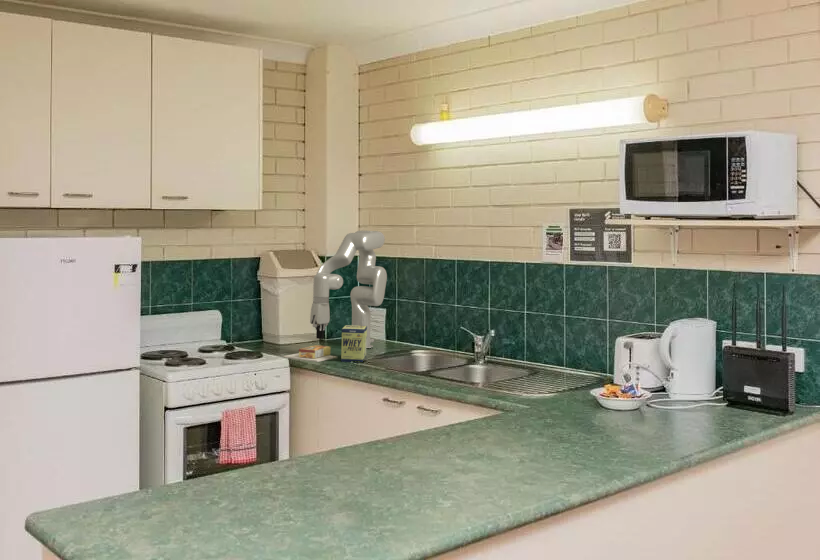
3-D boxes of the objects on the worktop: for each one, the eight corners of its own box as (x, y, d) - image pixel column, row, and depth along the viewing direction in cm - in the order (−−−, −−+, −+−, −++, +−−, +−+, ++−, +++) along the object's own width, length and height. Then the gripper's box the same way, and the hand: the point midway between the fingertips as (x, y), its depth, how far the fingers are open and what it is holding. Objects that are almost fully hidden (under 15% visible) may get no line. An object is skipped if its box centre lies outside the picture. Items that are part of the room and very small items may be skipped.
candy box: (314, 353, 438) (298, 357, 424) (314, 344, 437) (298, 348, 423) (330, 354, 434) (314, 359, 420) (330, 345, 434) (314, 349, 420)
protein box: (340, 362, 418) (341, 328, 417) (344, 356, 433) (345, 324, 432) (363, 362, 417) (364, 329, 416) (366, 357, 433) (367, 325, 432)
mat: (304, 353, 440) (304, 352, 440) (337, 357, 430) (337, 356, 430) (283, 357, 426) (283, 356, 426) (317, 361, 416) (317, 360, 416)
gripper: (324, 299, 441) (323, 336, 442) (305, 300, 428) (304, 339, 429) (336, 300, 437) (335, 337, 438) (317, 302, 424) (316, 340, 425)
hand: (320, 338), depth 434 cm, fingers closed
